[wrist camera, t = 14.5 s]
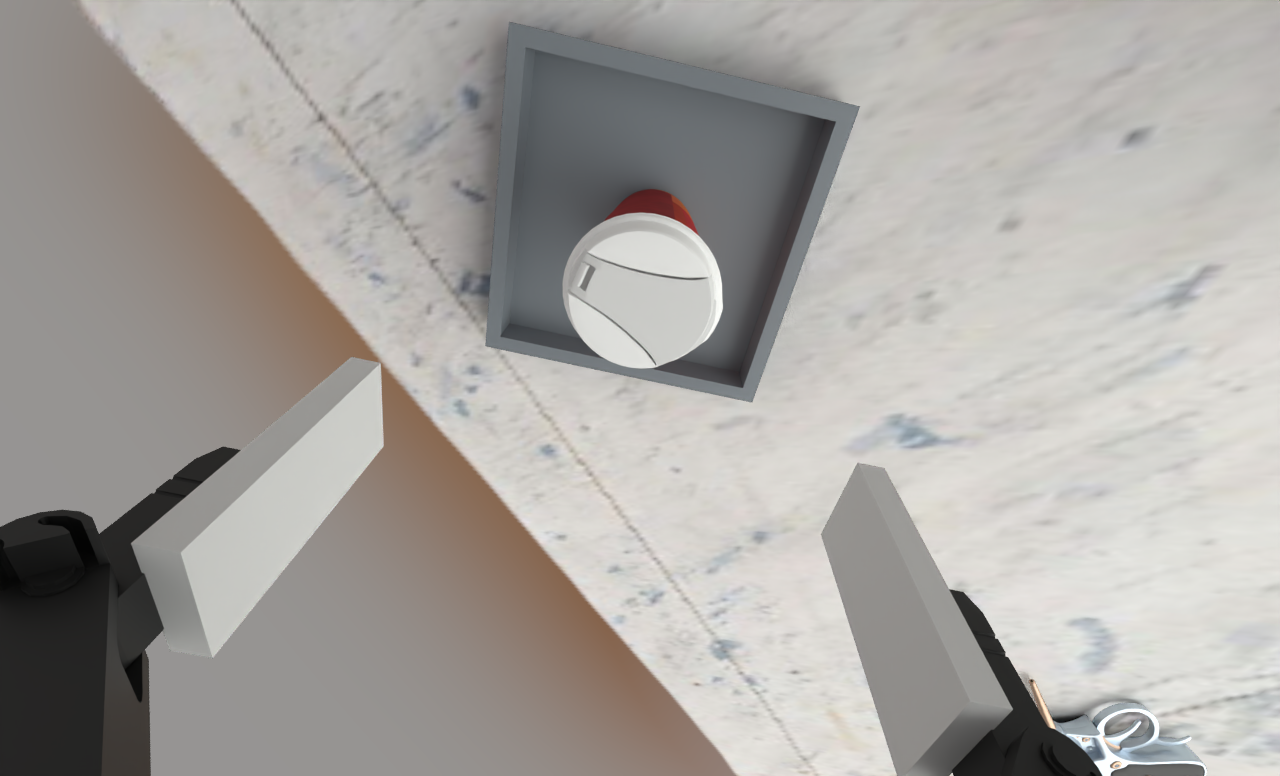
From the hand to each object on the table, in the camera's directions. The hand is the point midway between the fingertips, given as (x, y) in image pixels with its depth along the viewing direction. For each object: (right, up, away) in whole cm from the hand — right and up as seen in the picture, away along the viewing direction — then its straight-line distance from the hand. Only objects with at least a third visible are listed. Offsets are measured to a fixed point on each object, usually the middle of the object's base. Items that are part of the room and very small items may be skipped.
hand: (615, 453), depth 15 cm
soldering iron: (+54, -37, +49) cm, 82 cm away
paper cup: (+2, +13, +22) cm, 26 cm away
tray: (+2, +13, +23) cm, 27 cm away
